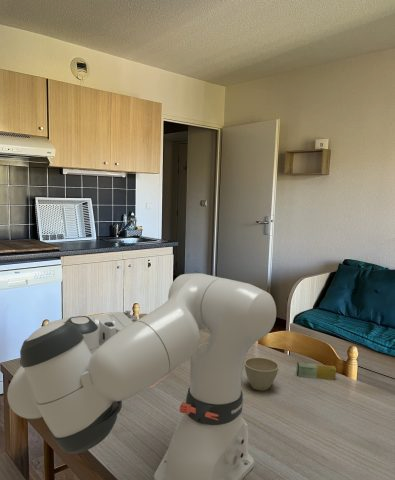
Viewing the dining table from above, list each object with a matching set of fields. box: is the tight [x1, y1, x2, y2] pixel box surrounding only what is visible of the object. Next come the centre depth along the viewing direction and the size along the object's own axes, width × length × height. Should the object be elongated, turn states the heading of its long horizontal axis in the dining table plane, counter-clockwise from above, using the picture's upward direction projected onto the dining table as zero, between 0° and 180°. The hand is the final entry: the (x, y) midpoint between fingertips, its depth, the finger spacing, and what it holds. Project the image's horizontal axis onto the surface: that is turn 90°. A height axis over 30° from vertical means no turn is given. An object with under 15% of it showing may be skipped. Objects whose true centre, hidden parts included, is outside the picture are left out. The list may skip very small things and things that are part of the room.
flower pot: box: [244, 356, 279, 392], centre depth 117 cm, size 10×10×7 cm
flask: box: [123, 310, 138, 319], centre depth 154 cm, size 9×3×11 cm, turn 50°
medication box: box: [295, 361, 337, 381], centre depth 125 cm, size 12×3×4 cm, turn 82°
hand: (146, 323), depth 124 cm, fingers closed on cover, 3 cm apart
